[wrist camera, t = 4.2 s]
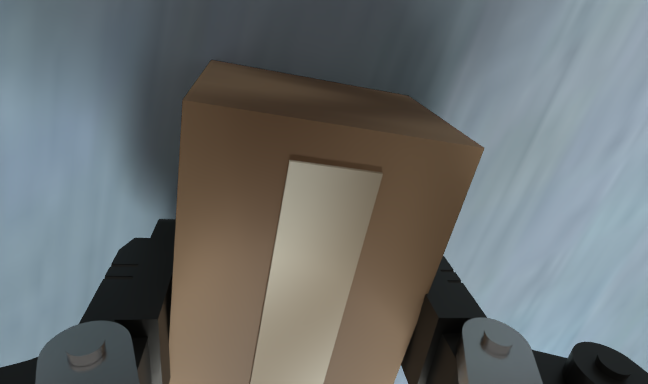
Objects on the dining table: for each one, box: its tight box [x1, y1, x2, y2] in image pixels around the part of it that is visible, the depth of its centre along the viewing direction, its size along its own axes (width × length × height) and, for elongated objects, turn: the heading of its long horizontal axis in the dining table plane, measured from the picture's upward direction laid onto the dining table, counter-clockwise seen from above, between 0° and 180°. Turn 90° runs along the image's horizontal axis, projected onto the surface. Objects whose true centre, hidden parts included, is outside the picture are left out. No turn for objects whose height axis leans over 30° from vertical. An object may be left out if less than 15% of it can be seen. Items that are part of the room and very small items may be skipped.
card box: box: [169, 60, 484, 384], centre depth 10 cm, size 5×9×4 cm, turn 168°
